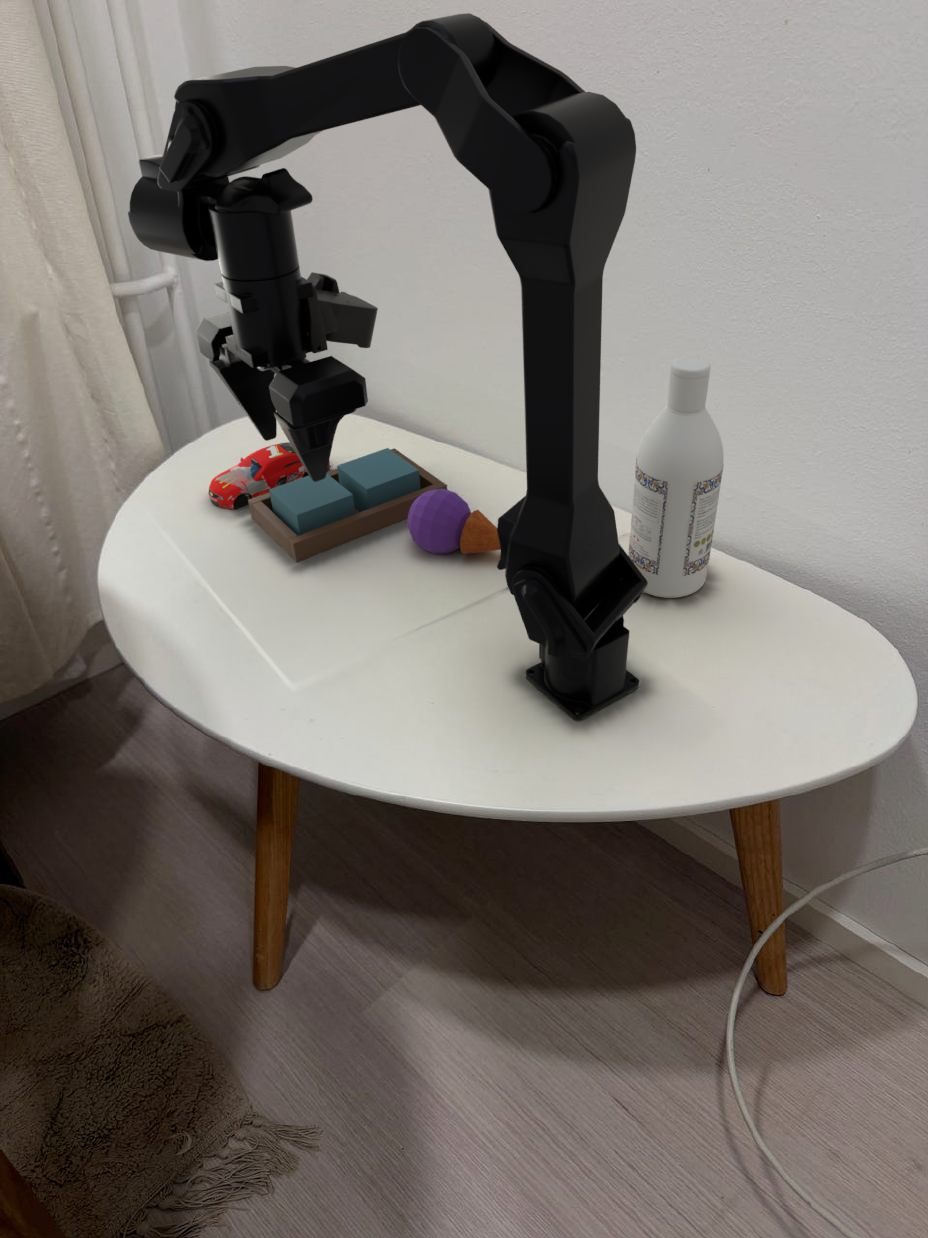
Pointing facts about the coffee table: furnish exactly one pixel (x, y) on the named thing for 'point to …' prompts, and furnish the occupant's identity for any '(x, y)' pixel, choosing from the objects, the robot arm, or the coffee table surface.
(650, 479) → the bath foam
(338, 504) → the loose pad
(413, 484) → the teal square block
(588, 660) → the robot arm
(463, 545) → the purple ice cream cone
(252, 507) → the frame
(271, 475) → the race car
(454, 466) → the coffee table surface
